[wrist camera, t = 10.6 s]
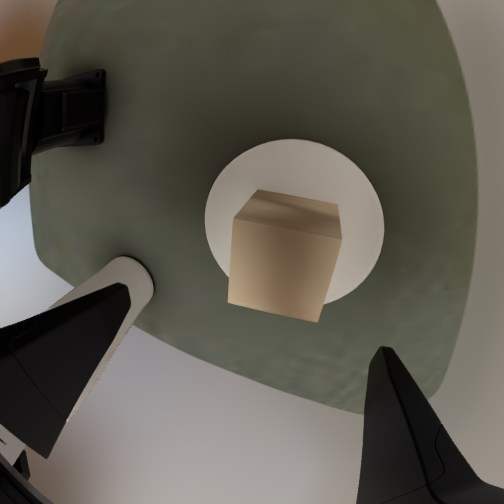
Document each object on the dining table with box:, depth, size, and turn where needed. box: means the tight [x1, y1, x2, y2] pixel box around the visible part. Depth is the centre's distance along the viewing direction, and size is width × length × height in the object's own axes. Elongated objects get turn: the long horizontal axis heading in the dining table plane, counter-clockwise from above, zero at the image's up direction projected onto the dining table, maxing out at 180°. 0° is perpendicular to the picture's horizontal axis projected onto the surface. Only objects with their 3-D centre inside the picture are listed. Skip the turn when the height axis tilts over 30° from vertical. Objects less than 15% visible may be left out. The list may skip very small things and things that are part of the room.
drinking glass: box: [42, 256, 154, 422], centre depth 18 cm, size 7×7×15 cm
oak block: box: [228, 189, 342, 322], centre depth 15 cm, size 5×5×5 cm
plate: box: [205, 139, 384, 304], centre depth 18 cm, size 12×12×1 cm
